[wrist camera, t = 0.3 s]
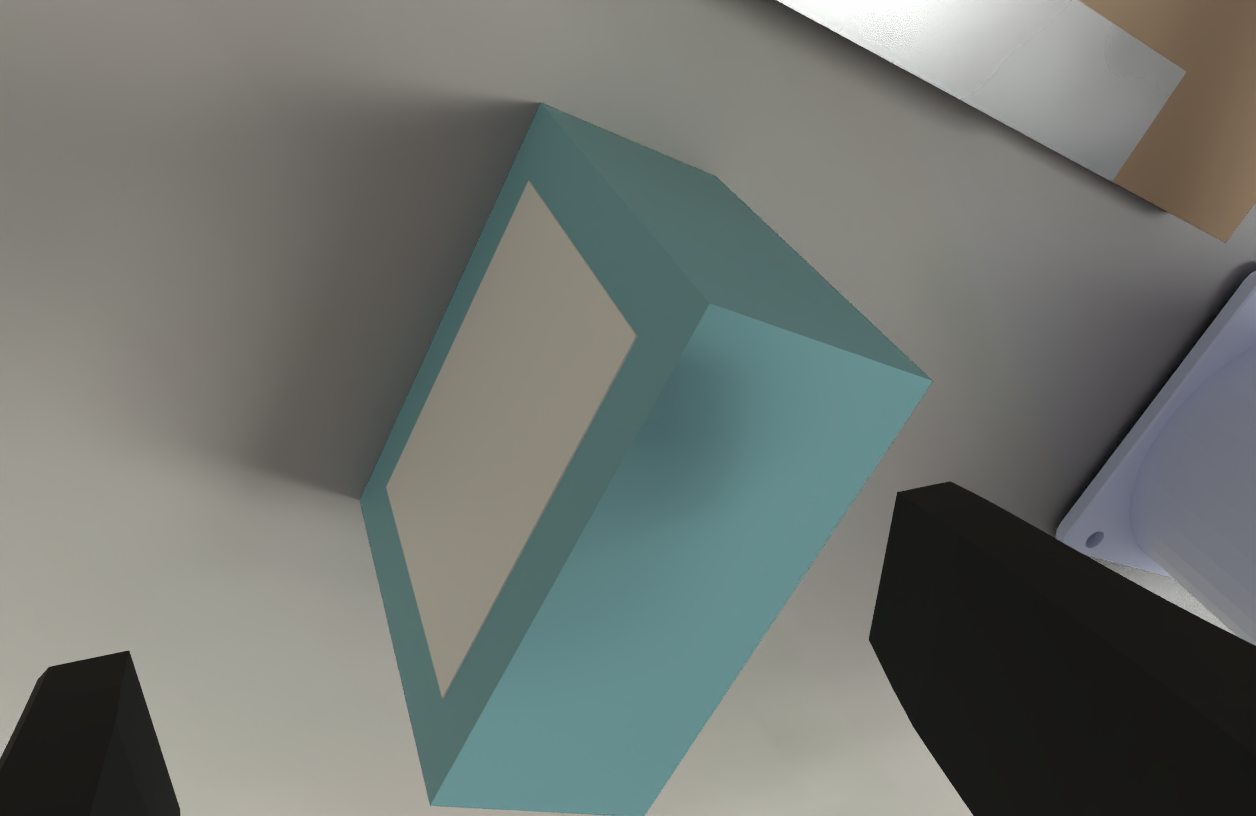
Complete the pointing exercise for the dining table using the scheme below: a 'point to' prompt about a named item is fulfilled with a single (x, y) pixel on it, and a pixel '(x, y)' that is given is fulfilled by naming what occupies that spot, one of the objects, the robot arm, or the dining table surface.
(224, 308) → the dining table surface
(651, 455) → the teal block
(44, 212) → the dining table surface
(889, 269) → the dining table surface
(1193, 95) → the wooden board
